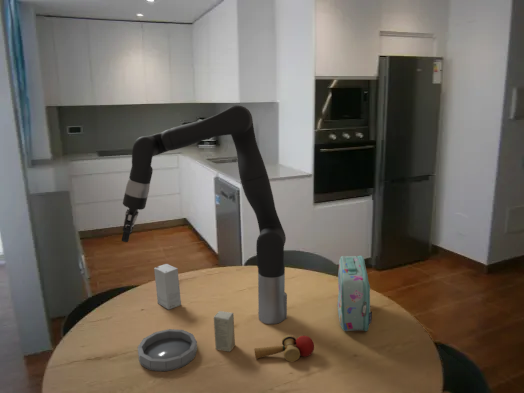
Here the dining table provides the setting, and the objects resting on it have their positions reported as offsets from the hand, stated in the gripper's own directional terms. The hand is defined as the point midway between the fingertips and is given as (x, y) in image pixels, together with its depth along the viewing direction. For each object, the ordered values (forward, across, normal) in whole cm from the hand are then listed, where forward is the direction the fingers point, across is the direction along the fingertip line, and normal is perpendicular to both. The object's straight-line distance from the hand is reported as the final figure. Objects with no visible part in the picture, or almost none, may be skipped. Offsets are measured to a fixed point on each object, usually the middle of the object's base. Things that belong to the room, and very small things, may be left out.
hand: (126, 237), depth 144 cm
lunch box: (+6, -18, -82) cm, 84 cm away
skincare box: (+25, +5, -20) cm, 33 cm away
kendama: (+14, -35, -55) cm, 67 cm away
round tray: (+23, -28, -21) cm, 42 cm away
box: (+19, -27, -38) cm, 51 cm away
